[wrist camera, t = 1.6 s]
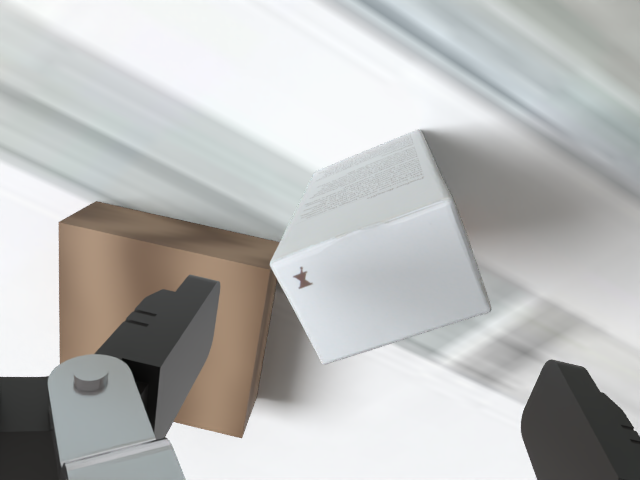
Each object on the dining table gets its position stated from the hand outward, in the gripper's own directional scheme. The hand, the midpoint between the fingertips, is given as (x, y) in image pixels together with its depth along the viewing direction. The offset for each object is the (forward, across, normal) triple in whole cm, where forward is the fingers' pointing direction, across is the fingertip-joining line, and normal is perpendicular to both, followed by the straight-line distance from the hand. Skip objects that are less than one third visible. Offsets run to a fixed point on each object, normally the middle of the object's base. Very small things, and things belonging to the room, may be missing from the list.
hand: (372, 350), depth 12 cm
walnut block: (+16, +10, +10) cm, 21 cm away
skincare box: (+16, 0, 0) cm, 16 cm away
